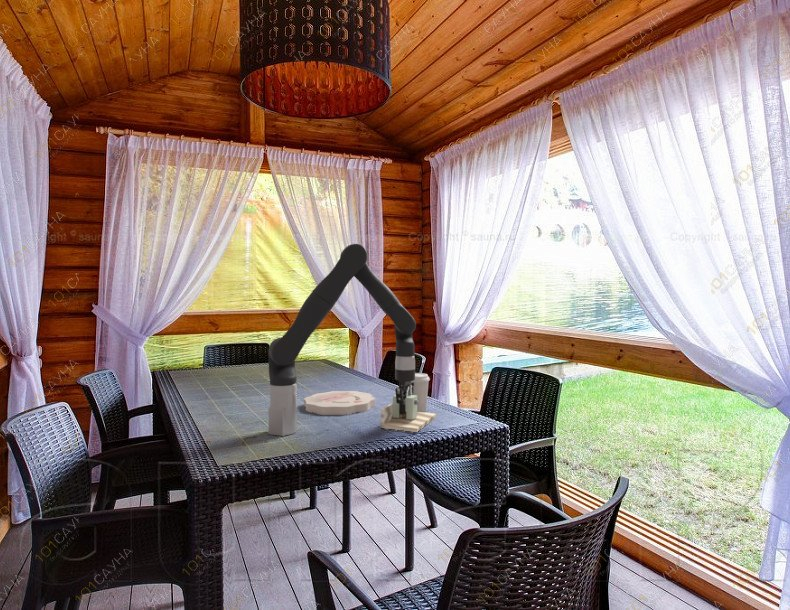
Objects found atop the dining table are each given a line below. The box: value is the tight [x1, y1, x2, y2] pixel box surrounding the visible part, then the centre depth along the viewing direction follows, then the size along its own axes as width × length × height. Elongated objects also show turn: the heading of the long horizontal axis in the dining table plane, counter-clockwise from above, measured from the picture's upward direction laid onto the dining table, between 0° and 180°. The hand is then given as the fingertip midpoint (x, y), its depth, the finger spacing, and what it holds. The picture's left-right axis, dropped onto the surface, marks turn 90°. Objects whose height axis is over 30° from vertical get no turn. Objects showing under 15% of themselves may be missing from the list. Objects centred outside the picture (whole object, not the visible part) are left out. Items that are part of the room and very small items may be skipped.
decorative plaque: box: [303, 390, 376, 416], centre depth 211 cm, size 30×4×30 cm
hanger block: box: [392, 394, 418, 420], centre depth 186 cm, size 5×9×8 cm, turn 68°
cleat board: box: [380, 402, 437, 433], centre depth 185 cm, size 22×14×7 cm, turn 158°
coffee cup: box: [409, 372, 431, 413], centre depth 203 cm, size 10×10×15 cm
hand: (405, 412), depth 186 cm, fingers closed on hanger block, 5 cm apart
